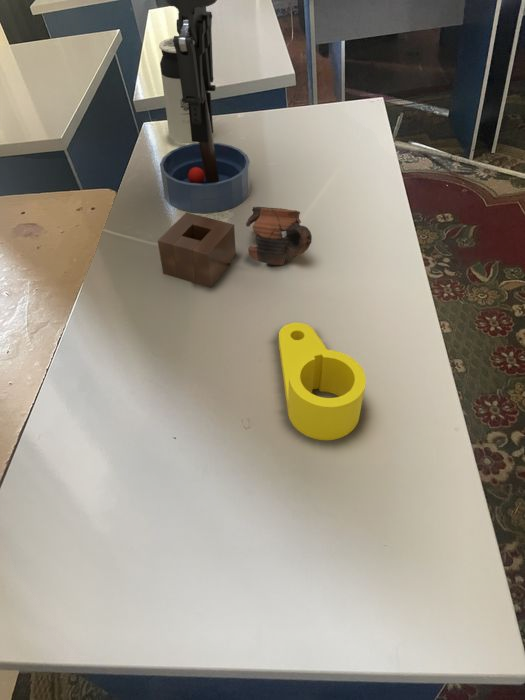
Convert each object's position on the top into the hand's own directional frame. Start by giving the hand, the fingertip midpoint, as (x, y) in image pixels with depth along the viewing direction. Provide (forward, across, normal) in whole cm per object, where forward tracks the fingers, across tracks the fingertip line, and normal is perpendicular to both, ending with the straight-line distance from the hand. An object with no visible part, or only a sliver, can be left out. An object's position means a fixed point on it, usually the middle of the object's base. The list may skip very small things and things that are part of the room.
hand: (202, 136), depth 94 cm
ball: (+10, +1, +2) cm, 10 cm away
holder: (+11, -21, -4) cm, 24 cm away
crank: (+11, -41, -23) cm, 49 cm away
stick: (+8, 0, -1) cm, 8 cm away
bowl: (+11, 0, 0) cm, 11 cm away
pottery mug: (+11, -15, -15) cm, 24 cm away
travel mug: (+11, +21, +9) cm, 25 cm away
